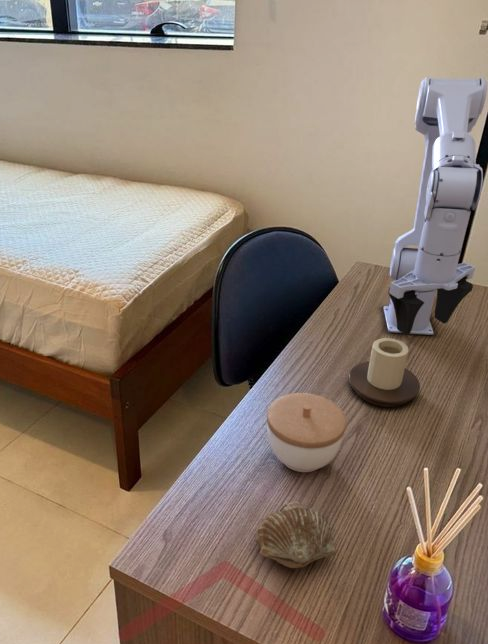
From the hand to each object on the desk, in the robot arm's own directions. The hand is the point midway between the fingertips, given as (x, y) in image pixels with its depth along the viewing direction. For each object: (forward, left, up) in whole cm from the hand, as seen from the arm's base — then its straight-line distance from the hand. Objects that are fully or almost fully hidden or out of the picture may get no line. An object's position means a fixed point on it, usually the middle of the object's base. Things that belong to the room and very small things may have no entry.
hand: (422, 325), depth 96 cm
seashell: (+39, -19, -11) cm, 45 cm away
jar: (+4, -5, -8) cm, 11 cm away
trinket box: (+22, -18, -11) cm, 30 cm away
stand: (+4, -5, -10) cm, 12 cm away
